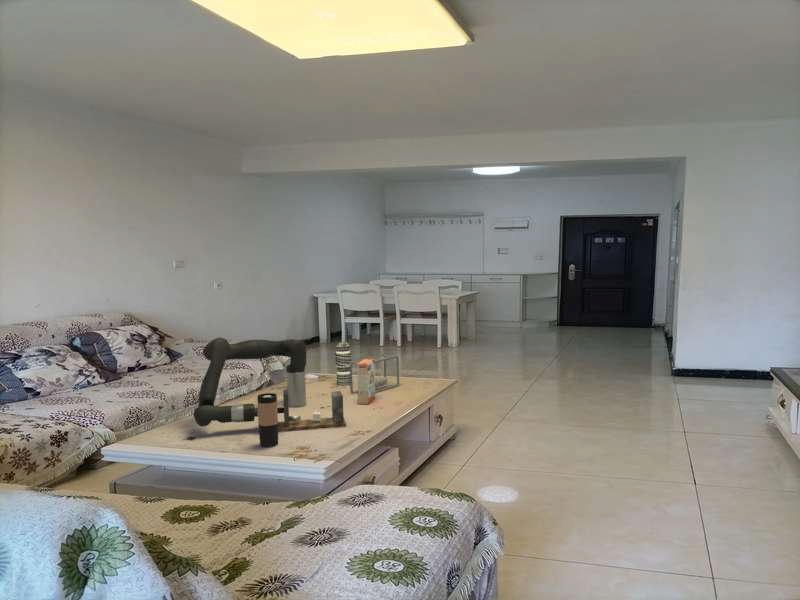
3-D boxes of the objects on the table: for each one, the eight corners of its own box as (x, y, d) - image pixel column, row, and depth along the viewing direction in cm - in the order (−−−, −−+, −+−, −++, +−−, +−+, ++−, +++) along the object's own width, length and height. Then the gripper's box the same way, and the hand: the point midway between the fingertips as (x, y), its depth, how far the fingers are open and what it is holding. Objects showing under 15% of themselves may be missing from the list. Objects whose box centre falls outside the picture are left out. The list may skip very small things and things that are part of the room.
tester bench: (271, 432, 259) (270, 401, 258) (271, 425, 269) (270, 395, 268) (346, 426, 265) (345, 396, 264) (343, 419, 276) (342, 390, 275)
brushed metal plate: (284, 426, 261) (283, 394, 259) (284, 420, 269) (283, 389, 268) (301, 425, 262) (299, 393, 261) (300, 419, 271) (299, 388, 270)
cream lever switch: (313, 421, 266) (313, 414, 266) (312, 416, 273) (312, 410, 273) (320, 420, 267) (320, 413, 266) (319, 416, 273) (319, 409, 273)
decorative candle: (345, 388, 341) (344, 344, 339) (332, 387, 346) (331, 343, 344) (355, 385, 348) (354, 342, 346) (342, 383, 353) (341, 341, 351)
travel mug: (260, 442, 246) (258, 393, 244) (279, 441, 246) (277, 392, 245) (258, 448, 238) (255, 397, 237) (277, 447, 239) (275, 397, 237)
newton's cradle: (364, 396, 320) (363, 363, 319) (350, 394, 326) (349, 361, 325) (399, 386, 344) (398, 355, 342) (385, 384, 350) (384, 353, 349)
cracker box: (369, 404, 302) (368, 363, 301) (357, 404, 303) (356, 363, 302) (376, 398, 316) (374, 358, 314) (364, 398, 317) (363, 358, 316)
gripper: (241, 408, 254) (283, 405, 258) (243, 400, 267) (283, 398, 271) (242, 425, 255) (284, 422, 258) (244, 417, 268) (283, 414, 271)
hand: (283, 410), depth 264 cm, fingers closed
